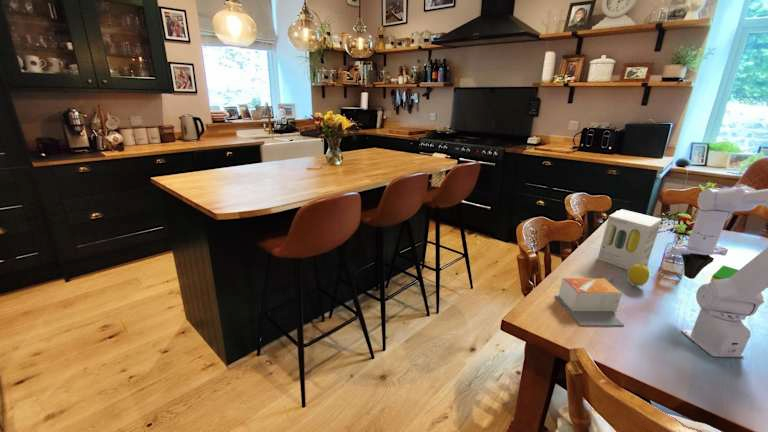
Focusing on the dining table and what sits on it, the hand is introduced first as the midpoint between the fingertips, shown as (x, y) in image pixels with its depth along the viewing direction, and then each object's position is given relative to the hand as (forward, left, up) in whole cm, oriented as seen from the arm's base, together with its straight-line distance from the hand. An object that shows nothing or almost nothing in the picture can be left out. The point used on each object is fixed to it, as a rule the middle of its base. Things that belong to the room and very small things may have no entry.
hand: (688, 277), depth 101 cm
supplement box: (+30, -4, -11) cm, 32 cm away
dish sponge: (+17, -33, -11) cm, 39 cm away
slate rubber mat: (-2, +28, -10) cm, 30 cm away
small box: (+1, +20, -7) cm, 21 cm away
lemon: (+12, +4, -11) cm, 17 cm away
